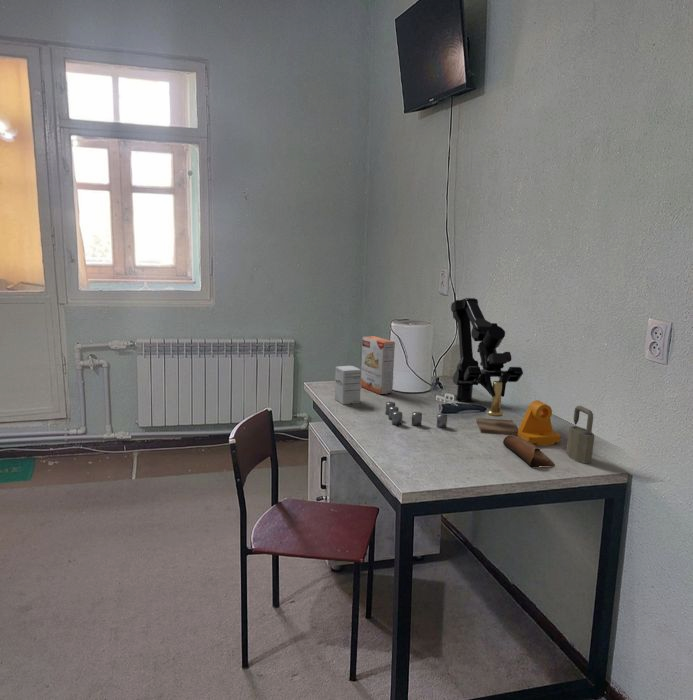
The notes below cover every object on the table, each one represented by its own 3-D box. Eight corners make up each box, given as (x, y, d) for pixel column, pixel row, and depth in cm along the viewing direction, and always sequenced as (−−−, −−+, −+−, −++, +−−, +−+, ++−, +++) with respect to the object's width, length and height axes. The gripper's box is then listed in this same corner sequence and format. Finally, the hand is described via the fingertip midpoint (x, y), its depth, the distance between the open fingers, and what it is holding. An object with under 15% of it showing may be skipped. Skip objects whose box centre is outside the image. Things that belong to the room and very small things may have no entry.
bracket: (529, 446, 177) (533, 407, 175) (517, 438, 184) (520, 400, 181) (561, 444, 179) (565, 406, 177) (548, 436, 186) (552, 400, 184)
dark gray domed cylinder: (411, 423, 194) (412, 411, 194) (421, 423, 194) (421, 412, 193) (411, 426, 191) (412, 414, 190) (421, 426, 191) (422, 415, 190)
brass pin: (484, 413, 195) (487, 381, 193) (493, 411, 198) (496, 379, 196) (496, 417, 191) (499, 384, 189) (505, 415, 194) (508, 382, 192)
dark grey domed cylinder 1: (385, 412, 205) (386, 401, 204) (394, 413, 205) (395, 402, 204) (385, 415, 202) (386, 404, 201) (394, 415, 202) (395, 404, 201)
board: (475, 420, 199) (476, 418, 199) (512, 423, 198) (512, 420, 198) (480, 432, 188) (481, 429, 187) (519, 434, 187) (519, 431, 186)
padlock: (575, 452, 172) (581, 403, 170) (593, 463, 165) (599, 411, 162) (563, 453, 171) (569, 403, 169) (581, 464, 164) (587, 412, 161)
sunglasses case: (559, 466, 161) (550, 447, 159) (537, 480, 160) (528, 460, 159) (528, 444, 178) (519, 426, 176) (508, 455, 178) (499, 438, 176)
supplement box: (333, 399, 219) (335, 366, 217) (351, 397, 222) (353, 365, 220) (342, 404, 213) (343, 370, 210) (360, 403, 216) (362, 369, 213)
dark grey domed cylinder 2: (388, 417, 200) (389, 406, 199) (397, 418, 199) (398, 406, 199) (388, 420, 197) (389, 408, 196) (397, 420, 196) (398, 409, 196)
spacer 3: (391, 422, 194) (392, 410, 193) (401, 423, 194) (402, 411, 193) (391, 425, 191) (392, 413, 190) (401, 426, 191) (402, 414, 190)
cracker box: (359, 387, 238) (361, 336, 234) (371, 385, 242) (374, 335, 238) (380, 395, 227) (383, 342, 223) (392, 393, 230) (395, 341, 226)
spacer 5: (436, 425, 193) (437, 413, 192) (446, 425, 193) (446, 414, 192) (436, 428, 190) (437, 416, 189) (446, 429, 190) (447, 417, 189)
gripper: (469, 342, 193) (478, 383, 184) (523, 343, 195) (534, 383, 187) (460, 361, 202) (468, 400, 193) (511, 361, 205) (522, 400, 196)
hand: (498, 396), depth 192 cm, fingers closed on brass pin, 3 cm apart
